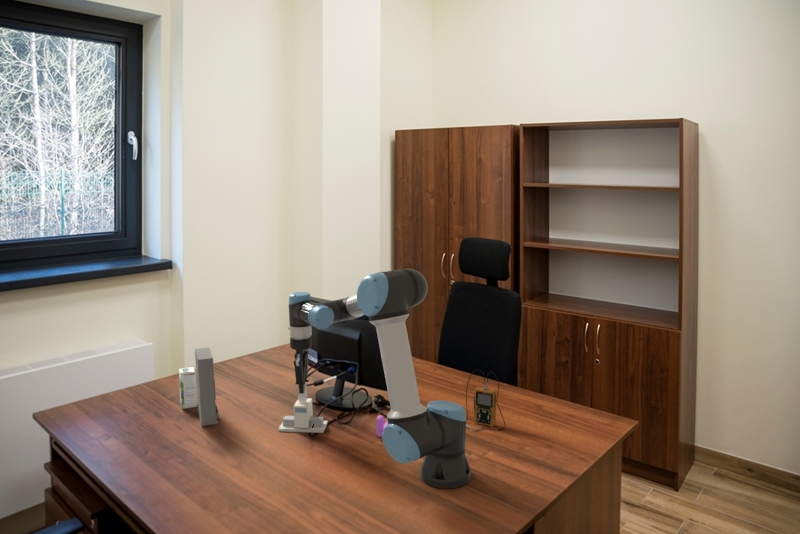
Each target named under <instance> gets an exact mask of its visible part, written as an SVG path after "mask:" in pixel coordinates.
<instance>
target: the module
mask: <svg viewBox="0 0 800 534" xmlns="http://www.w3.org/2000/svg"><path fill="white" fill-rule="evenodd" d="M313 414H314V413H313V398H308V397H307V401H306V402H300V401H298V399H297V400H296V401H295V403H294V404H293V416H294V427H295V428H309V420H310V418H311V417H314V415H313Z"/></svg>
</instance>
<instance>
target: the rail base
mask: <svg viewBox="0 0 800 534" xmlns="http://www.w3.org/2000/svg"><path fill="white" fill-rule="evenodd" d="M313 424H314V427H313V428H312V426H313ZM327 426H328V420H324V416H313V417H311V418H310V420H309V428H295V427H294V415H285V416H284V417H283V418H282V422H281V424H280V425H279V427H278V430H277V431H278V432H283V433H284V432H286V433H289V432H290V433H292V432H293V433H315V434H316V433H318V434H319V433H320V434H324V432H325V431H326V428H327Z"/></svg>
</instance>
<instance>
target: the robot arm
mask: <svg viewBox="0 0 800 534" xmlns="http://www.w3.org/2000/svg"><path fill="white" fill-rule="evenodd" d="M428 287H429V286H428V282H427V279H426V278H425V276H424V274H422V273H421V272H420V271H418V270H416V269H413V268H400V269H395V270H388V271H387V270H386V271H379V272H374V273H371V274H368V275H365V276H364V277H363V278H362V279H361V281H360V282H359V285H358V287H357V290H356V294H353V295H350V296H347V297H345V298H340V299H335V300H334V299H333V300H330V301H329V300H328V301H323V302H318V303H317V302H313V301H312V298H311V294H310V293H309V292H306V291H296V292H292V293H290V294H289V295H288V316H289V317H288V318H289V323H288V324H289V326H288V328H287V329H288V330H289V336H290V338H289V348H290V349H292V350H294V351H295V353H294V359H295V360H293V365H294V373H295V385H297V395H298V397H297V400H298V401H300V402H306V401H307V398H308V397H307V383H309V379H308V377H309V375H308V373H309V371H308V370H309V352H310V351H309V349H311V348H312V346H313V341H312V339H313V338H312V334H313V332H312V331H313V330H312V327H314V328H316V329H317V328H318V329H321V330H322V329H328V328H329V327H330V326H331V325H332V324H335V323H340V322H343V321H349V320H355V319H358V318H361V317H363V316H367V317H368V321H369V323H370V324H371V325H373V326H374V327H375V330H376V334H377V335H376V336H377V340H378V346H379V351H380V357H381V362H382V367H383V368H382V369H383V372H384V378H385V383H386V388H387V395H388V400H389V404H390V410H389V412H388V413H387V416H386V418H387V421H388V425H387V426H386V427H385V428H384V429H383V432H382V437H381V438H382V443H383V446H384V448H385V450H386V451H387V454H388V455H389V456H390V457H391V458H392V459H393V460H395V461H396V462H397V463H400V464H408V463H411V462H412V463H413V462H416V461H418V460H419V459H422V458H423V461H422V463H421V467H420V479H421V480H422V481H423V482H424V483H425V484H426V485H429V486H431V487H433V488H436V489H437V488H438V489H444V490H445V489H446V490H447V489H456V488H460V487H463V486H465V485H467V484H468V483H469V482H470V480H471V467H470V464H469V461H468V460H469V459H468V457H467V454H466V439H467V438H466V435H467V434H466V433H467V426H466V424H467V421H466V420H467V411H466V409H465V407H464V406H463V405H461V404H459V403H457V402H453V401H450V400H444V399H443V400H442V399H437V400H431V401H429V402H428V403H427V404H426V406H424V405H423V404H422V403H421V398H420V392H419V389H418V384H417V378H416V377H417V376H416V373H415V366H414V362H413V356H412V351H411V345H410V340H409V335H408V334H409V333H408V330H407V325H406V321H407V319H408V317H409V316H410V312H409V308H413V307H415V306H418V305H420V304H421V303H422V302H423V301H425V298H427V294H428V290H429V288H428Z"/></svg>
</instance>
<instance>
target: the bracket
mask: <svg viewBox="0 0 800 534" xmlns="http://www.w3.org/2000/svg"><path fill="white" fill-rule="evenodd" d="M387 425H388V420H387V421H385V418H384V415H380V414H379V415H377V417H376V421H375V431H376V432H375V436H376V437H379V438H382V432H383V429H384V428H385V427H386V426H387Z"/></svg>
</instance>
